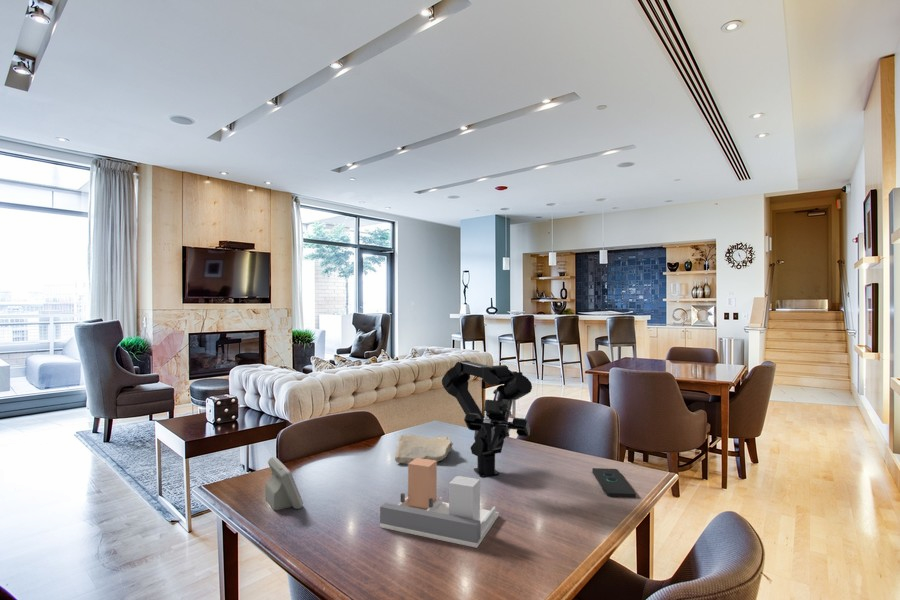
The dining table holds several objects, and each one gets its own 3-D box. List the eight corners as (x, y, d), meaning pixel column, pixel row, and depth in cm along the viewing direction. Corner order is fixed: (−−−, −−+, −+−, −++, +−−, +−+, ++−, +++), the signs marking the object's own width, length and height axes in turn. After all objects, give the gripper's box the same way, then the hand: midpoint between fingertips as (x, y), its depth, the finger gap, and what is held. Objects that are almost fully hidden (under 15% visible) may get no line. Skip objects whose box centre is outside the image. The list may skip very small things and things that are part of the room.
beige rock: (450, 446, 184) (398, 441, 184) (452, 427, 184) (400, 422, 184) (451, 471, 160) (391, 465, 160) (453, 449, 160) (394, 443, 159)
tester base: (411, 500, 132) (411, 482, 132) (498, 515, 122) (498, 496, 122) (380, 527, 116) (380, 506, 116) (476, 547, 107) (477, 525, 107)
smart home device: (617, 468, 154) (637, 493, 134) (617, 473, 154) (637, 499, 134) (591, 467, 154) (607, 492, 135) (591, 472, 154) (607, 498, 135)
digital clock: (303, 510, 125) (304, 470, 125) (267, 517, 122) (267, 475, 122) (297, 488, 140) (297, 452, 140) (264, 493, 137) (264, 456, 137)
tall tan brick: (416, 497, 130) (416, 457, 130) (436, 501, 128) (436, 460, 128) (408, 505, 126) (408, 463, 126) (428, 509, 123) (428, 466, 123)
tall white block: (456, 520, 117) (456, 475, 117) (479, 524, 115) (480, 479, 115) (449, 529, 113) (449, 482, 113) (472, 534, 110) (473, 486, 110)
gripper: (466, 385, 142) (451, 432, 132) (527, 390, 135) (516, 440, 124) (476, 406, 149) (462, 452, 139) (534, 412, 142) (524, 460, 132)
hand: (490, 450), depth 134 cm, fingers closed
